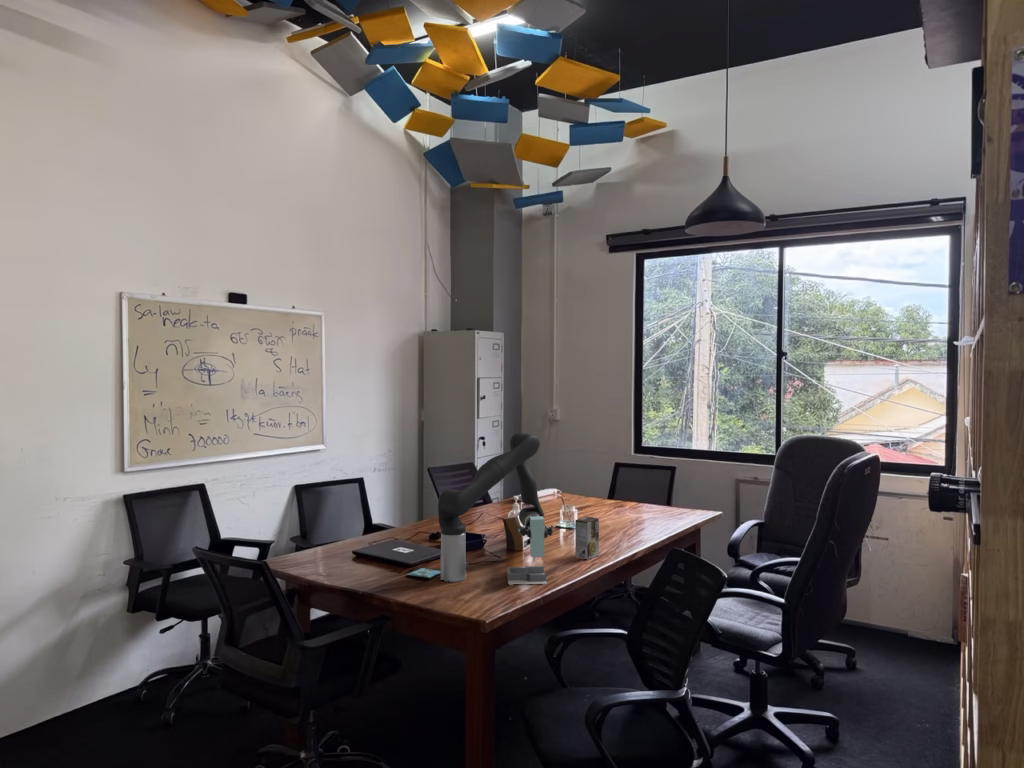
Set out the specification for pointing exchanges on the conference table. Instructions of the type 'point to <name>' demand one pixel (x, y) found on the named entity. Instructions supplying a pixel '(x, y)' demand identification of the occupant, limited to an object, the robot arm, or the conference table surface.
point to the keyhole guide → (526, 575)
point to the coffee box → (586, 537)
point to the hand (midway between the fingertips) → (537, 535)
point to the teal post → (537, 536)
